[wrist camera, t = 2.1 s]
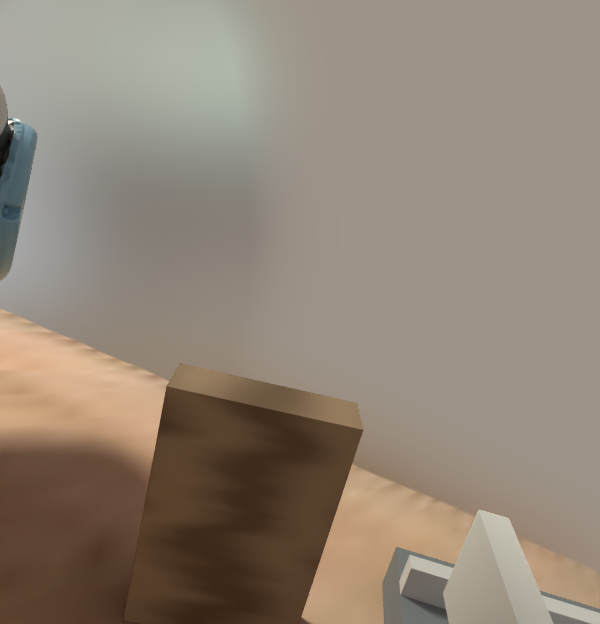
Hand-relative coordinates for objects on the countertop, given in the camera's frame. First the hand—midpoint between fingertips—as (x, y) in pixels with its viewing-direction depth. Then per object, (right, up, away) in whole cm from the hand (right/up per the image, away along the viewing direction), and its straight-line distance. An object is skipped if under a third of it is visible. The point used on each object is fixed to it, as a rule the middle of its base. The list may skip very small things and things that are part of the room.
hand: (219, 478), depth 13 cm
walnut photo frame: (-3, -12, +14) cm, 19 cm away
